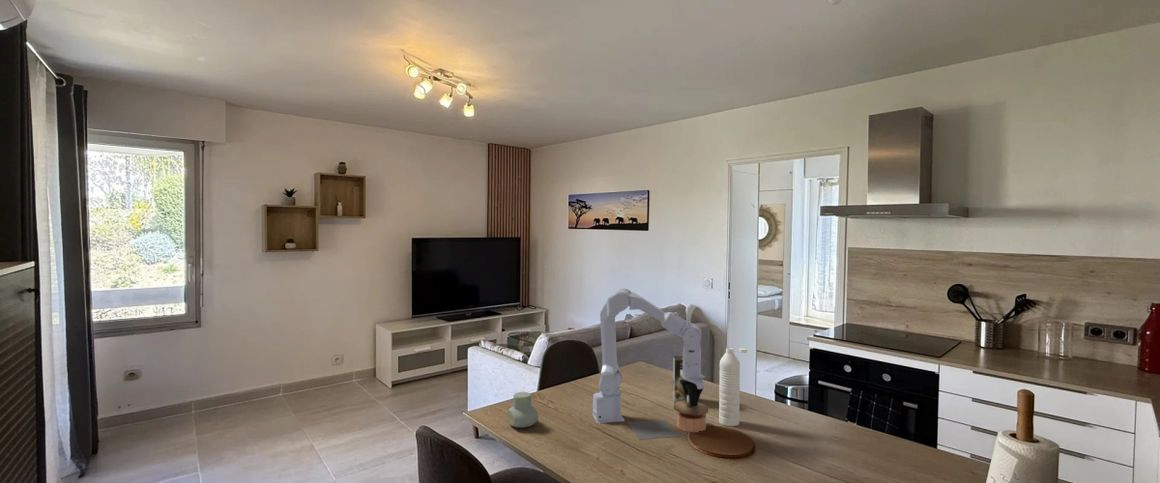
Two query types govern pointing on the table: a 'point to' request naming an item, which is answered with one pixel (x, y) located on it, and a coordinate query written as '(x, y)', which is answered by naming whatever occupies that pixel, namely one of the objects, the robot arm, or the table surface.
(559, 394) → the table surface
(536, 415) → the air freshener
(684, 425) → the bowl
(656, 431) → the mat
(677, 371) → the coffee box
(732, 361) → the water bottle
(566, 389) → the table surface
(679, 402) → the lid
